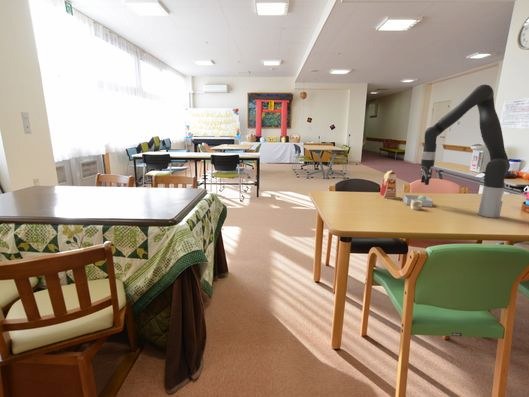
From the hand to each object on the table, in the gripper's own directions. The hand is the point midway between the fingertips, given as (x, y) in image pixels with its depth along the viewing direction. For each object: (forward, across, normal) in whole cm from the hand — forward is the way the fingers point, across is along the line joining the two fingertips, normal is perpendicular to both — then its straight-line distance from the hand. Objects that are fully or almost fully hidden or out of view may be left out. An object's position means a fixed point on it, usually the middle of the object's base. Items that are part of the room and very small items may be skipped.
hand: (424, 183), depth 192 cm
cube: (+14, -15, +7) cm, 21 cm away
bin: (+14, 0, +3) cm, 14 cm away
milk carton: (+14, +14, +19) cm, 27 cm away
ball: (+13, 0, 0) cm, 13 cm away
